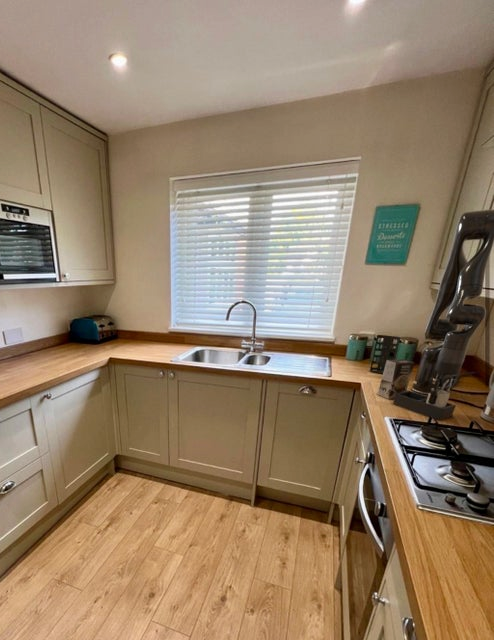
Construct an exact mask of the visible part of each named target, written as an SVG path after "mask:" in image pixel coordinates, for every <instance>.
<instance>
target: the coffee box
mask: <svg viewBox="0 0 494 640" xmlns="http://www.w3.org/2000/svg"><path fill="white" fill-rule="evenodd" d="M415 364H416V363H415V362H414V361H412V360H407V359H402V358H401V359H399V358H397V359H395V360H393V359H391V360H389V359H387V361H386V365H385V369H384V372H383V373H382V376H381V380H380V383H379V387H378V391H377V395H378V396H381V397H383V398H385V399H387V400H394V399H395V395H396V394H397V393H401V392H405V391H408V387H409V383H410V380H411V377H412V374H413V370H414V367H415Z"/></svg>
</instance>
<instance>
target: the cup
mask: <svg viewBox="0 0 494 640" xmlns="http://www.w3.org/2000/svg"><path fill="white" fill-rule="evenodd" d="M437 390H438V389H437ZM450 395H451V393H450V391H449V392H447V391H444V390H441V391H440V393H439V394H438V397H437V400H436V403H435V404H431V405H434V406H437V407H440V408H444V407H446V404H447V403H448V401H449V398H450ZM427 396H428V398H427V401H426V403H427V404H430V403H428V401H429V398H430V393H429V395H427Z"/></svg>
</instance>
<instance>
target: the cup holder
mask: <svg viewBox="0 0 494 640" xmlns="http://www.w3.org/2000/svg"><path fill="white" fill-rule="evenodd" d="M427 398H428V395H425V394H420V393H417V392H414V391H412V390H407V391H405V392H401V393H397V394H396V395H395V398H394V399H393V402H392V404H393V405H395V406H398V407H400V408H404V409H406V410H409V411H411V412H414V413H416V414H421V415H423V416H426V417H428V418H431V417H430V416H432V418H431V419H434V420H437V421H442V420H445V419H448V418H451V417H453V414H454V412H455V409H456V404H453V403H450V402H447V404H446V407H444V408H440V407H437V406H434V405H431V404H427V403H426V401H427Z"/></svg>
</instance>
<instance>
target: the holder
mask: <svg viewBox="0 0 494 640" xmlns="http://www.w3.org/2000/svg"><path fill="white" fill-rule="evenodd" d="M379 339H383V341H379ZM392 340H394V341H395V340H396V341H397V342H396V343H394V342H393V343H392ZM400 341H401V337H400V336H395V335H384V334H377V335H376V339H375V344H374V348H373V353H372V359H371V363H370V368H369V372H371V373H377V374H383V372H384V369H385V365H386V361H387V360H396V358H397V354H398V349H399V346H400ZM377 346H378V347H377ZM394 347H395V349H394ZM376 352H380V354H376ZM389 353H393V356H391V355H389ZM374 364H377V366H375V367H373V365H374Z"/></svg>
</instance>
